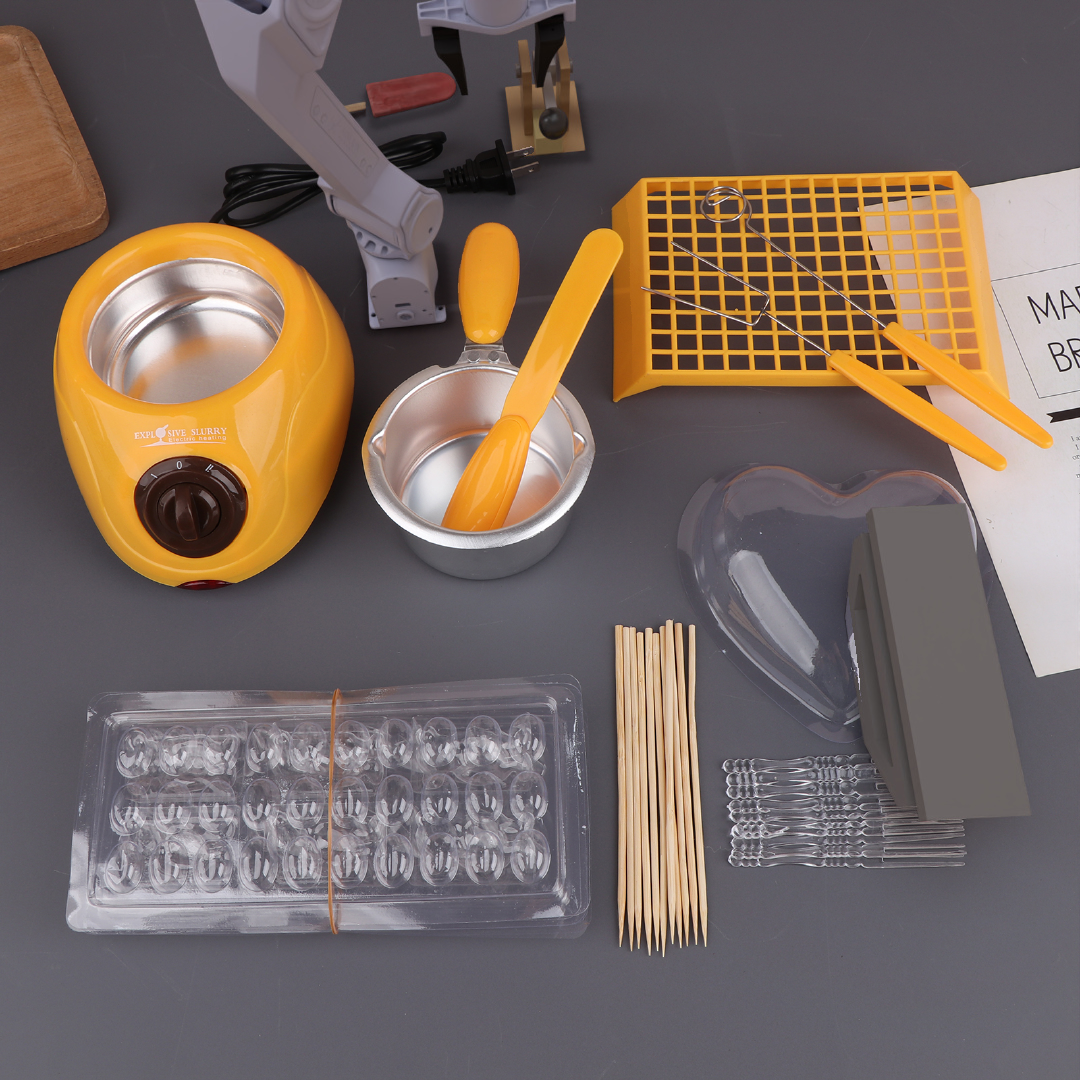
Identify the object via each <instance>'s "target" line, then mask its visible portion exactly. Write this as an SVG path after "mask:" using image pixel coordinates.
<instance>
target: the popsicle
mask: <svg viewBox="0 0 1080 1080" xmlns="http://www.w3.org/2000/svg"><path fill="white" fill-rule="evenodd" d="M456 89H457V82H456V80H455V78H453V77H452V76H451V75H450V74H448V73H445V72H442V71H441V72H438V71H435V72H427V73H422V74H416V75H410V76H404V77H398V78H392V79H388V80H381V81H376V82H375V81H374V82H370V83H367V84H366V85H365V90H366V93H367V98H368V100H369V105H370V108H371V112H372V116H373V117H374V118H381V117H385V116H388V115H392V114H397V113H401V112H405V111H409V110H413V109H417V108H421V107H425V106H430V105H433V104H438V103H441V102H444V101H447V100H449V99H451V98H452V97H453V96H454V94H455V93H456V92H457V91H456ZM343 106H344V107H345V108H346V109H347V111H348V112H349V113H350V114H351V113H355V112H360V111H364V110H366V109H367V105H366V101H362V102H355V103H352V104H346V105H343Z"/></svg>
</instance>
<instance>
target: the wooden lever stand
mask: <svg viewBox="0 0 1080 1080" xmlns="http://www.w3.org/2000/svg"><path fill="white" fill-rule="evenodd" d="M528 41H529V40H528V39H520V40H519V39H518V40H517V52H518V55H517V56H518V62H517V63H515V64H514V67H515V68H514V71H515V79H519V85H513V86H505V88H504V89H505V96H506V106H507V113H508V120H509V121H508V122H509V131H510V139H511V146H512V152H513V151H514V150H520V149H522V148H526V147H530V146H532V147H533V148H534V152H533V153H532V154H529V155H526V156H525V157H532V156H542V155H544V154H537V155H536V150H535V142H534V135H533V110H537V109H545V105H544V99H543V93H542V87H541V88H536V87H535V83H534V84H533V69H532V64H531V57H530V48H529V42H528ZM569 56H570V55H569V50H568V44H567V36H566V35H565V39H564V43H563V45H562V46H561V47H560V48H559V50H558V51H557V53H556V54H555V64H556V86H553V88H554V94H555V100H556V105H557V108H558V107H559V108H560V109H562V110H563V111H564V112H565V113H566V115H567V117H568V123H569V124H568V129H567V132H566V133H565V135H564V136H563V152H558V153H557V154H563V153H572V152H573V153H575V152H581V151H582V152H584V151H586V146H585V139H584V133H583V127H582V126H583V125H582V121H581V113H580V106H579V99H578V95H577V88H576V81H575V80H571V74H573V73H574V61H573V58H572V57H569ZM552 154H555V153H548V154H547V155H552Z"/></svg>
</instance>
